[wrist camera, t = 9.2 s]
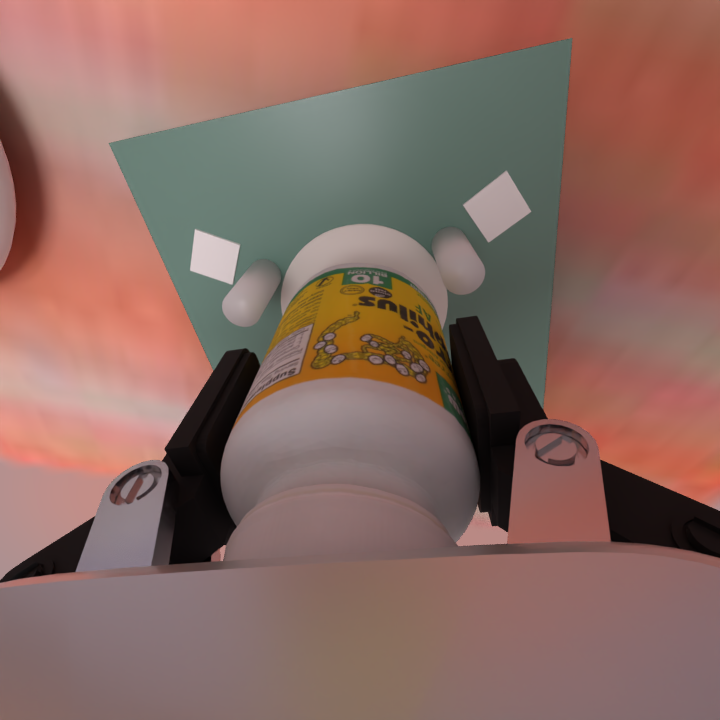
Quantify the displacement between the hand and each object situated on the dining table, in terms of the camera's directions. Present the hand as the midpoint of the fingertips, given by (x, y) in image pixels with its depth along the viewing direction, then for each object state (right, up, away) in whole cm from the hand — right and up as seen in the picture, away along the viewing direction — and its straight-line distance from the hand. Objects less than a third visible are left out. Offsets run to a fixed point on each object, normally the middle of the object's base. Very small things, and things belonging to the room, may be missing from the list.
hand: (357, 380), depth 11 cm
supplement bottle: (0, +2, +3) cm, 3 cm away
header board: (0, +3, +5) cm, 6 cm away
